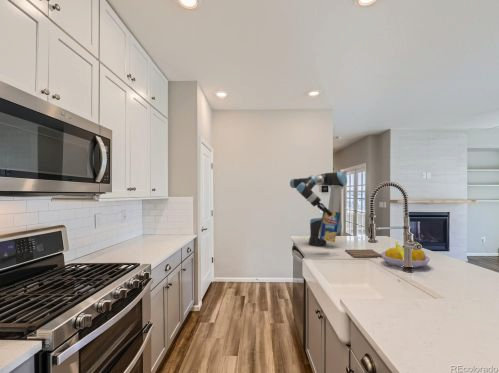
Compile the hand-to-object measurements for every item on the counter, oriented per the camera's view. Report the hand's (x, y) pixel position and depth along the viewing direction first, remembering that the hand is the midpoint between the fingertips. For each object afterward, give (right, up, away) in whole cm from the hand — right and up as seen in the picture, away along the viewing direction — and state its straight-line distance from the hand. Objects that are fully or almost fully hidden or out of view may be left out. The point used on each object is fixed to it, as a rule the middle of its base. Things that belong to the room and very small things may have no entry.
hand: (336, 221), depth 195 cm
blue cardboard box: (-8, -14, 0) cm, 16 cm away
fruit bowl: (+33, -23, -31) cm, 51 cm away
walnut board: (+18, -24, -4) cm, 30 cm away
